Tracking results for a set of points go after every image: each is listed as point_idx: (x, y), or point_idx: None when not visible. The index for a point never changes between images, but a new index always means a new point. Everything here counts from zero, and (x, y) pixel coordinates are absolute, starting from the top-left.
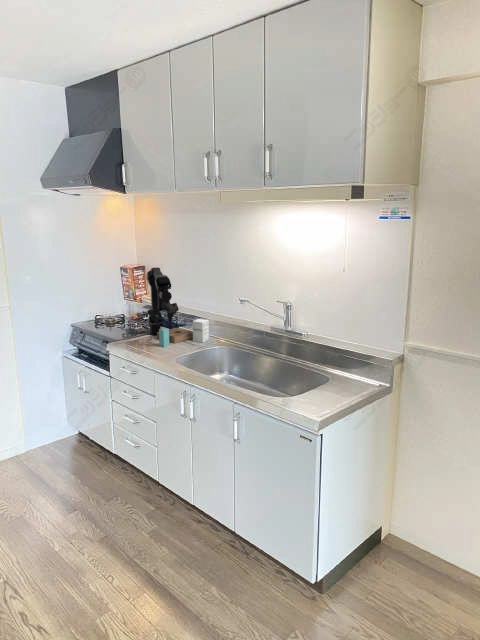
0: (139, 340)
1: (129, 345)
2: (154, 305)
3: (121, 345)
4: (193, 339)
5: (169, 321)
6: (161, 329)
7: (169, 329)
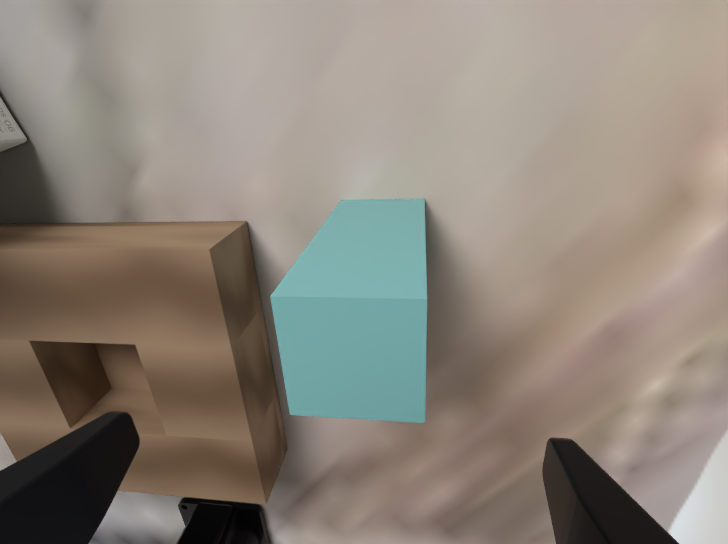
0: (427, 512)
1: None
2: None
3: None
4: (4, 132)
5: (101, 472)
6: (399, 381)
7: None
